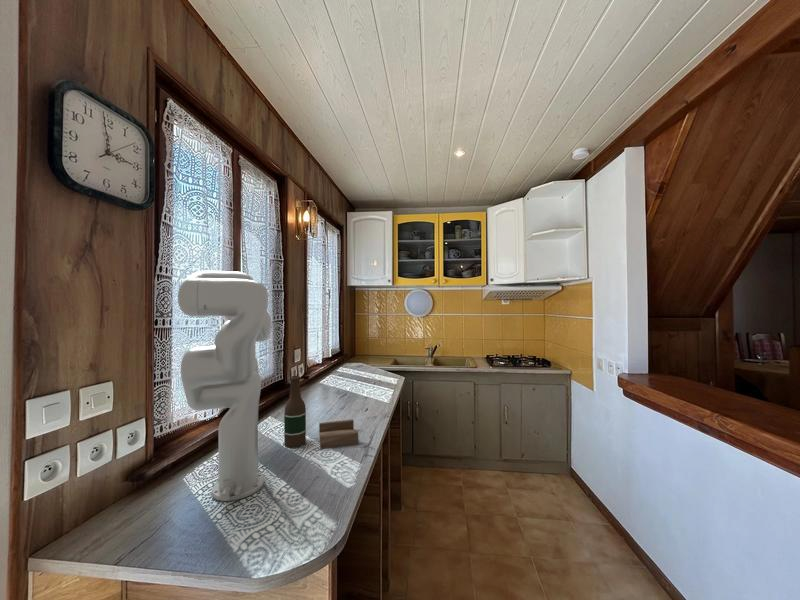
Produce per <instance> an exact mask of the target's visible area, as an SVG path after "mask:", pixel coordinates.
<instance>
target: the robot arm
mask: <svg viewBox="0 0 800 600" xmlns="http://www.w3.org/2000/svg"><path fill="white" fill-rule="evenodd" d="M179 286H180V287H179V289H178V292H177V301H178V302H177V303H178V306H179V309H180V311H181V312H182V313H183V314H184V315H186V316H188V317H198V318H201V317H203V318H204V317H206V318H207V317H225V318H226V319H227V320H226V321H225V322H224V323H223V325H222V326H221V329H220V330H219V331H217V334H216V335H215V337H214V345H202V346H201V345H200V346H199V345H198V346H194V347H192V348H189V349H188V350H187V351H185V353H184V354H183V356H182V359H181V362H180V376H181V384H182V387H183V390H184V394H185V397H186V402H187V404H188V406H189V408H190V409H191V410H193V411H207V410H215V409H227V408H228V411H227V412H226V413H225V414H224V415H223V417H222V418H221V420H220V422H219V425H218V467H217V468H218V471H217V472H218V481H217V482H216V483H215V484H214V485H213V486H212V488H211V496H212V498H213V499H215V500H217V501H222V502H230V501H237V500H241V499H244V498H247V497H248V496H251V495H253V494H255V493H257V492H258V491H259V490H260V489H261V488H262V487H263V486H264V483H265V477H264V474H262V473H260V472H259V464H258V463H259V461H258V460H259V448H258V447H259V430H258V429H259V405H260V396H261V392H262V391H261V390H262V378H261V375H260V371H259V363H258V358H257V357H256V351H257V349H256V343H257V342H259V343H260V342H265V341H267V340H268V339H269V337H270V335H271V331H272V330H271V329H272V321H271V316H270V313H269V312H268V305H269V304H268V303H269V293H268V290H267V288H266V286H265V285H264V284H263V283H261V282H259V281H256V280H254V278H253V277H252V276H251V275H250V274H248V273H245V272H242V271H234V270H233V271H230V270H229V271H226V270H200V271H196V272H194V273H192V274H190V275H189V276H188V277H186V278H185V279H183V281H182V282H181V284H180V285H179Z"/></svg>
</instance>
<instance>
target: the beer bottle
mask: <svg viewBox="0 0 800 600" xmlns="http://www.w3.org/2000/svg"><path fill="white" fill-rule="evenodd" d="M289 378H290V379H289V380H290V386H289V387H290V390H289V399H288V400H287V402H286V404H285V406H284V414H283V415H284V416H283V417H284V419H283V420H284V423H283V424H284V426H283V427H284V431H283V432H284V433H283V434H284V435H283V436H284V437H283V438H284V442H283V443H284V447H285V448H288V449H289V448H290V449H295V448H301V447H303V446H304V445H305V444H306V440H307V439H306V438H307V435H306V434H307V429H306V428H307V427H306V426H307V419H306V418H307V416H306V415H307V413H306V412H307V411H306V409H307V407H306V403H305V401H304V399H303V398H302V397H301V395H302V394H301V382H300V380H301V376H300V375H297V374H296V375H295V374H294V375H291V376H290V377H289Z"/></svg>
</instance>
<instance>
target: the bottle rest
mask: <svg viewBox="0 0 800 600" xmlns="http://www.w3.org/2000/svg"><path fill="white" fill-rule="evenodd" d="M318 423H319V424H318V425H319V426H318V427H319V428H318V429H319V430H318V434H319V446H320V448H319V449H320V450H322V449H330V448H338V447H339V448H340V447H345V446H346V447H347V446H355V445H359V432H358V430H356V431H355V429H354V426H355V425H354V419H346V420H345V419H344V420H335V421H326V422H324V421H323V422H318Z"/></svg>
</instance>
